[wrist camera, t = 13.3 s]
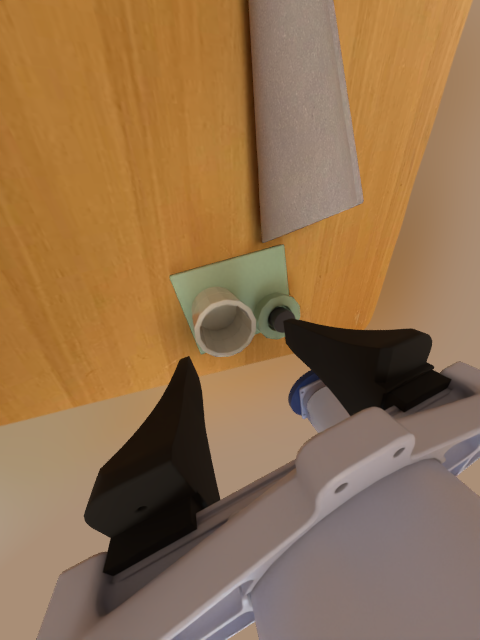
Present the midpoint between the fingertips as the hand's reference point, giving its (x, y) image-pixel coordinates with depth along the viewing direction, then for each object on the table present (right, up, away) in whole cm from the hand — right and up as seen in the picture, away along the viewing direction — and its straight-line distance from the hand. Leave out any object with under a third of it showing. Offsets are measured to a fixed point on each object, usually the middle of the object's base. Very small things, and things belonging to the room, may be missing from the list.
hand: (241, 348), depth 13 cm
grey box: (+1, +23, +2) cm, 23 cm away
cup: (-3, +3, +8) cm, 9 cm away
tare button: (+5, +2, +9) cm, 11 cm away
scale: (0, +4, +9) cm, 10 cm away
